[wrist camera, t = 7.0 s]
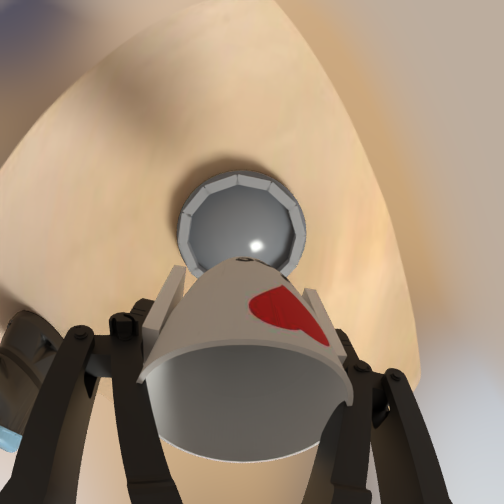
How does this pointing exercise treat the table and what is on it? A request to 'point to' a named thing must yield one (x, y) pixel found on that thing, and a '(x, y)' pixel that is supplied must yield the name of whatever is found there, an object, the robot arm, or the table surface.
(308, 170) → the table surface
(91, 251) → the table surface
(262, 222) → the tray
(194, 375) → the cup
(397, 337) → the table surface
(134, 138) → the table surface
